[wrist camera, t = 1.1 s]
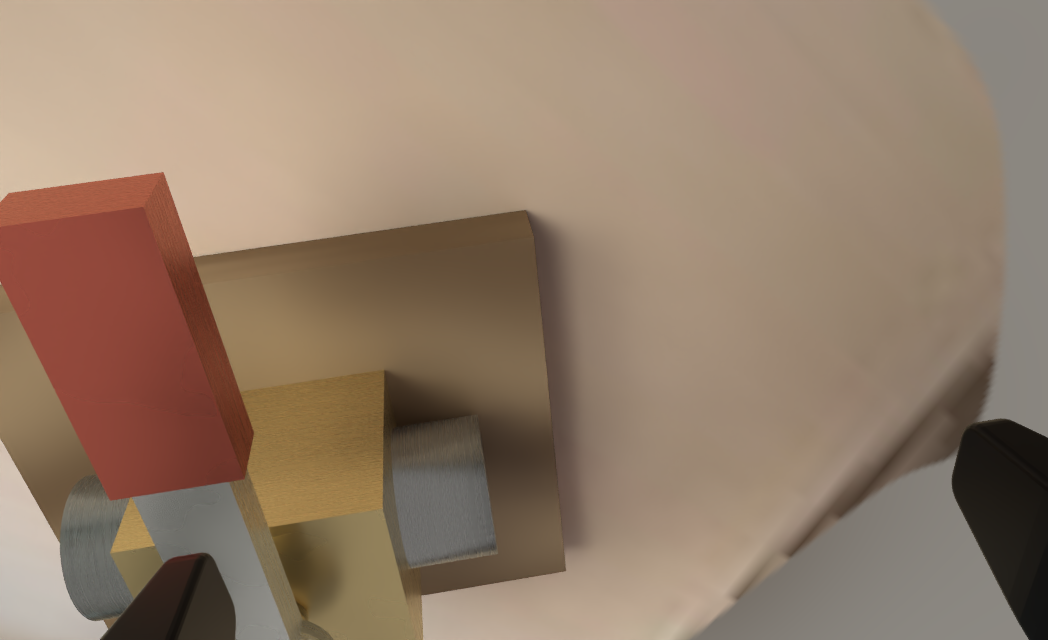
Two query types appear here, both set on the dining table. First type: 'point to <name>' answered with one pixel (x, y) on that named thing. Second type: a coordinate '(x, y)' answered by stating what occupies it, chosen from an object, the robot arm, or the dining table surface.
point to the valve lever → (147, 378)
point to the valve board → (364, 363)
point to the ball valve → (319, 509)
